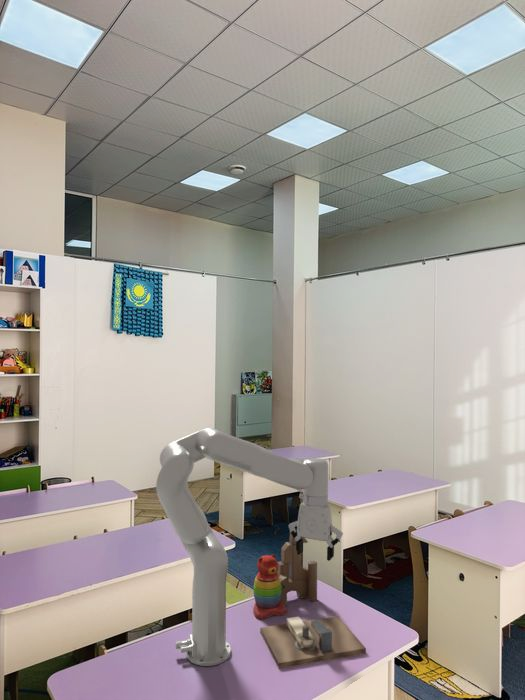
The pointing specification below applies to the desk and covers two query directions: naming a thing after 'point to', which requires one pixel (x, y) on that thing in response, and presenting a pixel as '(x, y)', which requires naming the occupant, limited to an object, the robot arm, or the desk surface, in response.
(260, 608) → the stacking bear
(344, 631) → the base board
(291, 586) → the wooden toy
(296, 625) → the link
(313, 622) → the keeper
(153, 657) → the desk surface
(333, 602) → the desk surface
